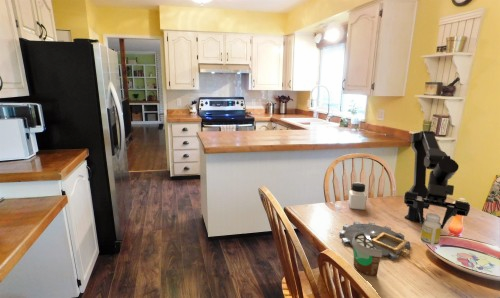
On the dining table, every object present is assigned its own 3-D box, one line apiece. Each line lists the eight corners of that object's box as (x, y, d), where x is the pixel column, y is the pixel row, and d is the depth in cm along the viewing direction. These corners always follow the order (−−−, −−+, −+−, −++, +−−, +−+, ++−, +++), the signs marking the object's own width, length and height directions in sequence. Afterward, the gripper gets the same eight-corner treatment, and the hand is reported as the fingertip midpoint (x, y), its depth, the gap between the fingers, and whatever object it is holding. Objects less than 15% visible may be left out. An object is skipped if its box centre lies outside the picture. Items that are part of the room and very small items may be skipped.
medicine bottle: (365, 209, 138) (367, 186, 136) (350, 208, 140) (352, 185, 137) (362, 204, 145) (365, 181, 142) (348, 202, 146) (350, 180, 144)
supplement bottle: (436, 239, 99) (440, 213, 97) (440, 247, 94) (445, 220, 92) (418, 236, 101) (422, 211, 99) (422, 244, 96) (426, 218, 94)
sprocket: (359, 219, 128) (360, 212, 127) (420, 242, 109) (422, 234, 109) (326, 238, 112) (327, 230, 111) (391, 269, 93) (392, 259, 93)
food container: (343, 257, 100) (346, 231, 98) (360, 256, 100) (363, 230, 98) (360, 280, 88) (363, 251, 86) (379, 279, 88) (382, 250, 86)
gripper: (408, 169, 100) (400, 209, 94) (474, 179, 90) (471, 225, 84) (407, 184, 109) (400, 222, 102) (468, 194, 99) (464, 237, 92)
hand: (431, 226), depth 95 cm, fingers closed on supplement bottle, 5 cm apart
